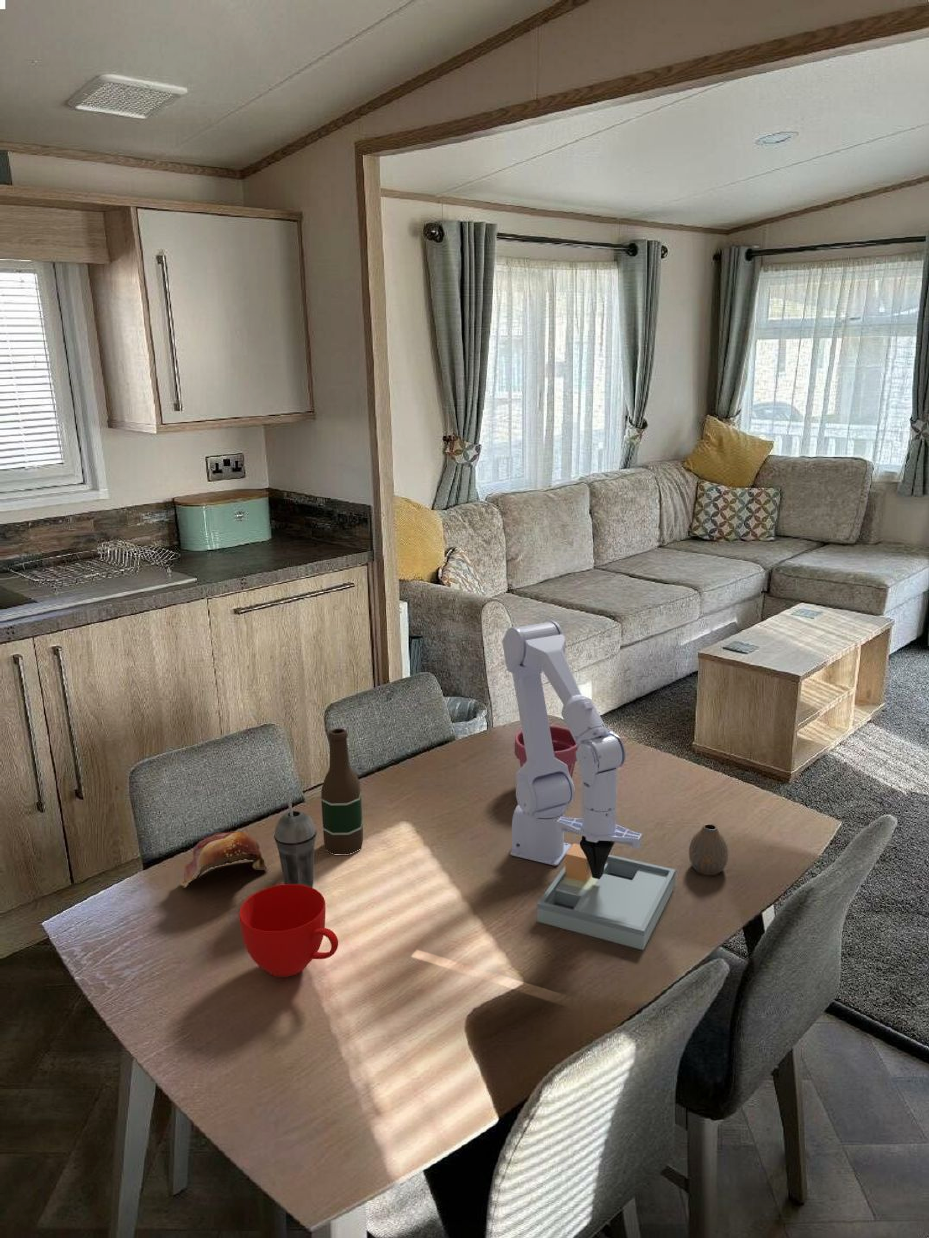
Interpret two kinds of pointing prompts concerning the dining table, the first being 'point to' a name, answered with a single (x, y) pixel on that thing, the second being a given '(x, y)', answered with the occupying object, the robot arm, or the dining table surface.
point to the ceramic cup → (285, 928)
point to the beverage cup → (296, 846)
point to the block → (577, 864)
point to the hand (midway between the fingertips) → (597, 875)
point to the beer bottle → (341, 800)
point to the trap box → (610, 901)
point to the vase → (708, 851)
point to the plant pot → (561, 747)
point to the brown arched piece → (223, 853)
